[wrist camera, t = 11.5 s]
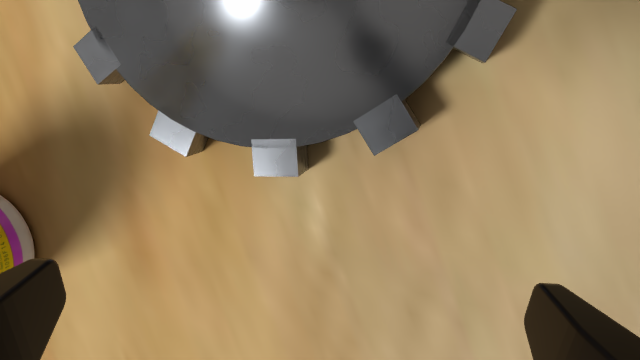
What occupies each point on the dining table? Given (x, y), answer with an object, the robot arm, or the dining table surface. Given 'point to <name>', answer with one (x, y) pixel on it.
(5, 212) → the supplement bottle
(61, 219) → the dining table surface
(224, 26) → the sprocket plate
